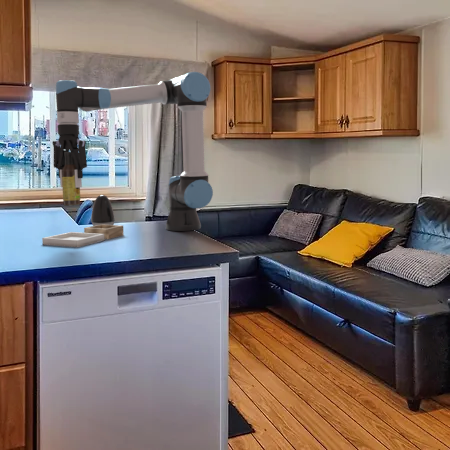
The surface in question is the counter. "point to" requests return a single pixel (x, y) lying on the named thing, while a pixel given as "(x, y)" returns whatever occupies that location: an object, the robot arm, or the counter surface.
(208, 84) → the robot arm
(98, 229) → the oak holder
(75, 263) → the counter surface
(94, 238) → the grey tray
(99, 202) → the black bullet shaped dome
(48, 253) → the counter surface
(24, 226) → the counter surface
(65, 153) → the sauce bottle
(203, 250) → the counter surface
